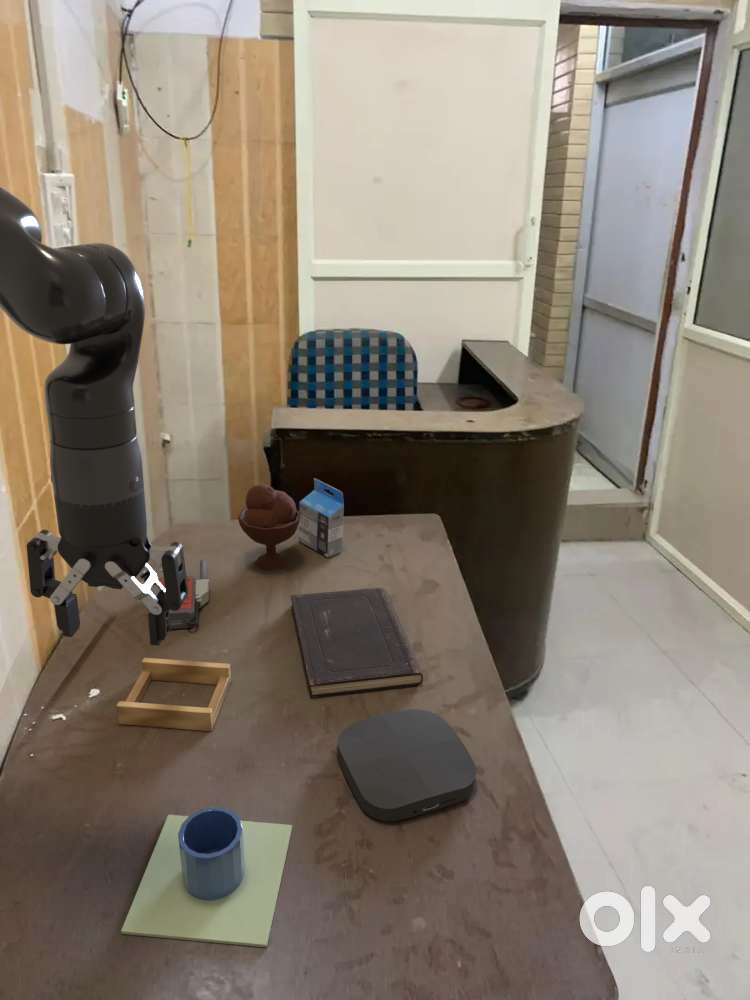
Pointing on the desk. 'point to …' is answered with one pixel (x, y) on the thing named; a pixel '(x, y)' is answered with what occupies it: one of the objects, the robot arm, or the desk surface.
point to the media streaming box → (405, 764)
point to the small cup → (212, 853)
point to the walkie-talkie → (191, 600)
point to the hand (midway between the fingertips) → (114, 636)
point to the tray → (173, 714)
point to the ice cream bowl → (269, 522)
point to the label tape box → (322, 520)
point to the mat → (224, 920)
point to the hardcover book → (352, 643)
